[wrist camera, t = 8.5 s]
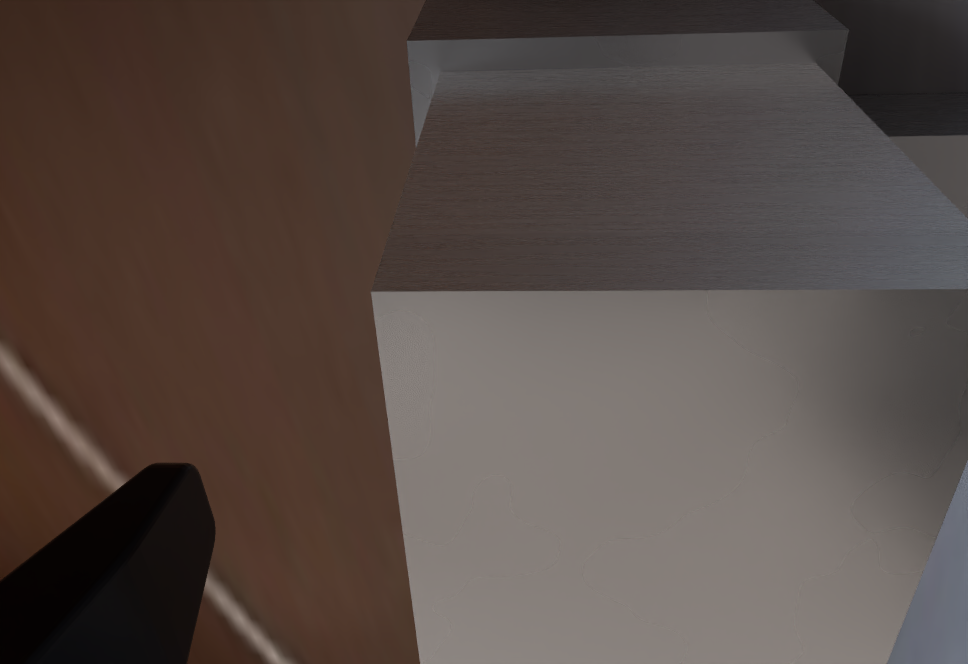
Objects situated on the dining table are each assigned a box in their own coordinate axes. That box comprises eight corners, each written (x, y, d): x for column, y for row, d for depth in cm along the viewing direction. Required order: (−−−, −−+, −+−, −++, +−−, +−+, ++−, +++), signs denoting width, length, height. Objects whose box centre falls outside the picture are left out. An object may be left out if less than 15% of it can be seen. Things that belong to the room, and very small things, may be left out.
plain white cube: (815, 62, 11) (1037, 288, 6) (758, 366, 14) (878, 682, 9) (440, 70, 12) (370, 291, 7) (459, 365, 15) (421, 672, 10)
